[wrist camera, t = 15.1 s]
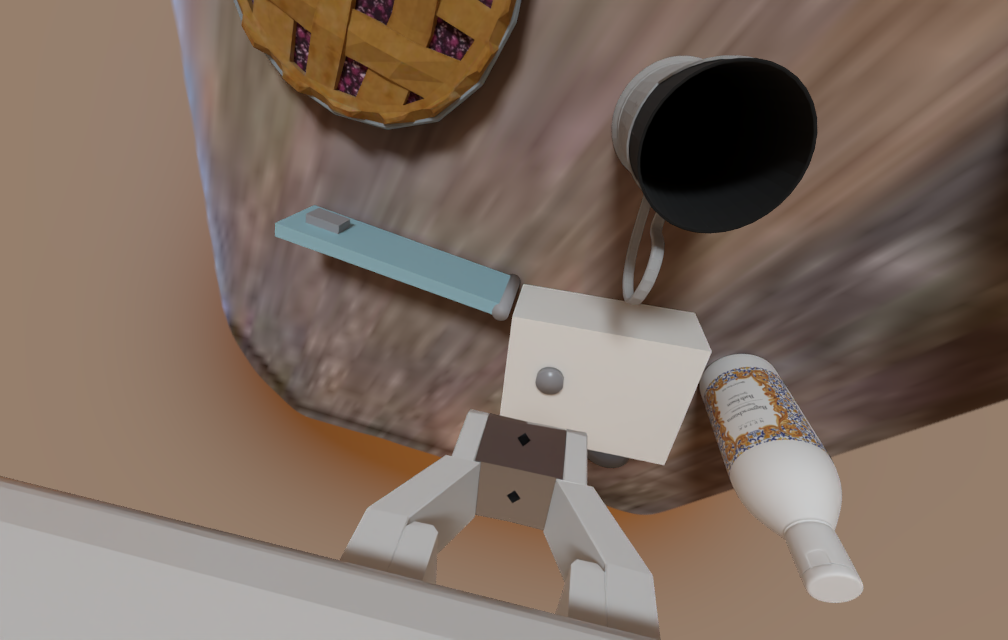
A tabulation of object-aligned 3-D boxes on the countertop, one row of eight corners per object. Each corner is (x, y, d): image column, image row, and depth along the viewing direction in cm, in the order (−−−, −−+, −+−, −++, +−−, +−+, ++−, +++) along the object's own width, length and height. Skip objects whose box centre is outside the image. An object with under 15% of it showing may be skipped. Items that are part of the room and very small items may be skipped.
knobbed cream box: (694, 312, 39) (714, 357, 33) (648, 436, 47) (657, 491, 41) (522, 283, 41) (509, 320, 35) (505, 408, 49) (492, 456, 43)
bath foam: (757, 339, 39) (883, 539, 22) (788, 391, 42) (925, 611, 24) (685, 370, 42) (748, 568, 25) (717, 417, 44) (795, 630, 27)
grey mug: (759, 77, 30) (884, 77, 17) (666, 257, 37) (705, 352, 24) (640, 38, 30) (676, 9, 17) (570, 226, 37) (559, 303, 25)
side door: (517, 289, 41) (505, 323, 36) (315, 216, 41) (272, 238, 36) (524, 270, 40) (513, 302, 35) (317, 195, 40) (272, 215, 35)
